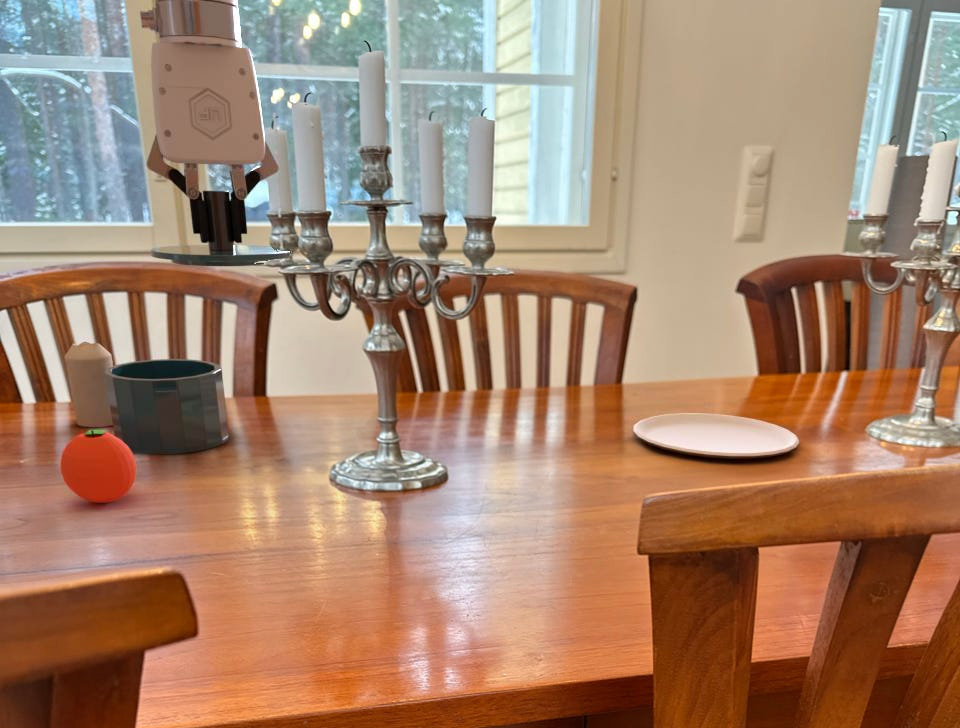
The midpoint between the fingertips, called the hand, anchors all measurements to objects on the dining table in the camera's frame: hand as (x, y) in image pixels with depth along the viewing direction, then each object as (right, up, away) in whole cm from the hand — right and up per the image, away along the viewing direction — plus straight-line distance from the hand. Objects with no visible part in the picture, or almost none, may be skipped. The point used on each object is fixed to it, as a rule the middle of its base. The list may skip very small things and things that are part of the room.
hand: (221, 240), depth 93 cm
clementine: (-11, -28, -3) cm, 30 cm away
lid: (0, -1, +1) cm, 1 cm away
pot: (-11, -17, +17) cm, 27 cm away
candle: (-23, -13, +24) cm, 36 cm away
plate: (+57, -16, +22) cm, 63 cm away
